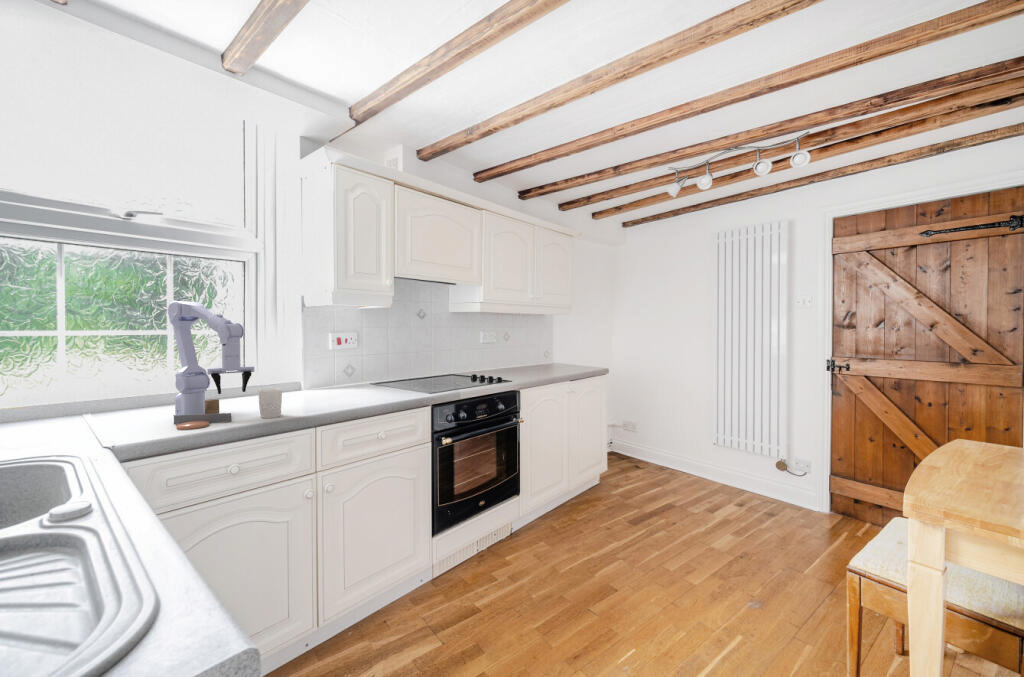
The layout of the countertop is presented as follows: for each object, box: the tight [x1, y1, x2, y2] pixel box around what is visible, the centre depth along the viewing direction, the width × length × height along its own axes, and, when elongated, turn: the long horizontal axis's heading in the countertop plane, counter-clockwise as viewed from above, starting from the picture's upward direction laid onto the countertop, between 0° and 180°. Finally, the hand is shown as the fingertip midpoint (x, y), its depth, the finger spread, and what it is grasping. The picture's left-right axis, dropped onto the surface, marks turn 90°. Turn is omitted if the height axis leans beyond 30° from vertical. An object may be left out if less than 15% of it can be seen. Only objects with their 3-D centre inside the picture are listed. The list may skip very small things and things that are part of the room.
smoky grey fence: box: [173, 412, 232, 425], centre depth 155 cm, size 18×1×3 cm, turn 100°
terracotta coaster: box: [175, 421, 210, 431], centre depth 149 cm, size 9×9×1 cm
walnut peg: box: [205, 398, 220, 414], centre depth 161 cm, size 4×4×7 cm
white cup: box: [257, 388, 283, 419], centre depth 165 cm, size 8×8×10 cm
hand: (231, 392), depth 162 cm, fingers open, 7 cm apart
